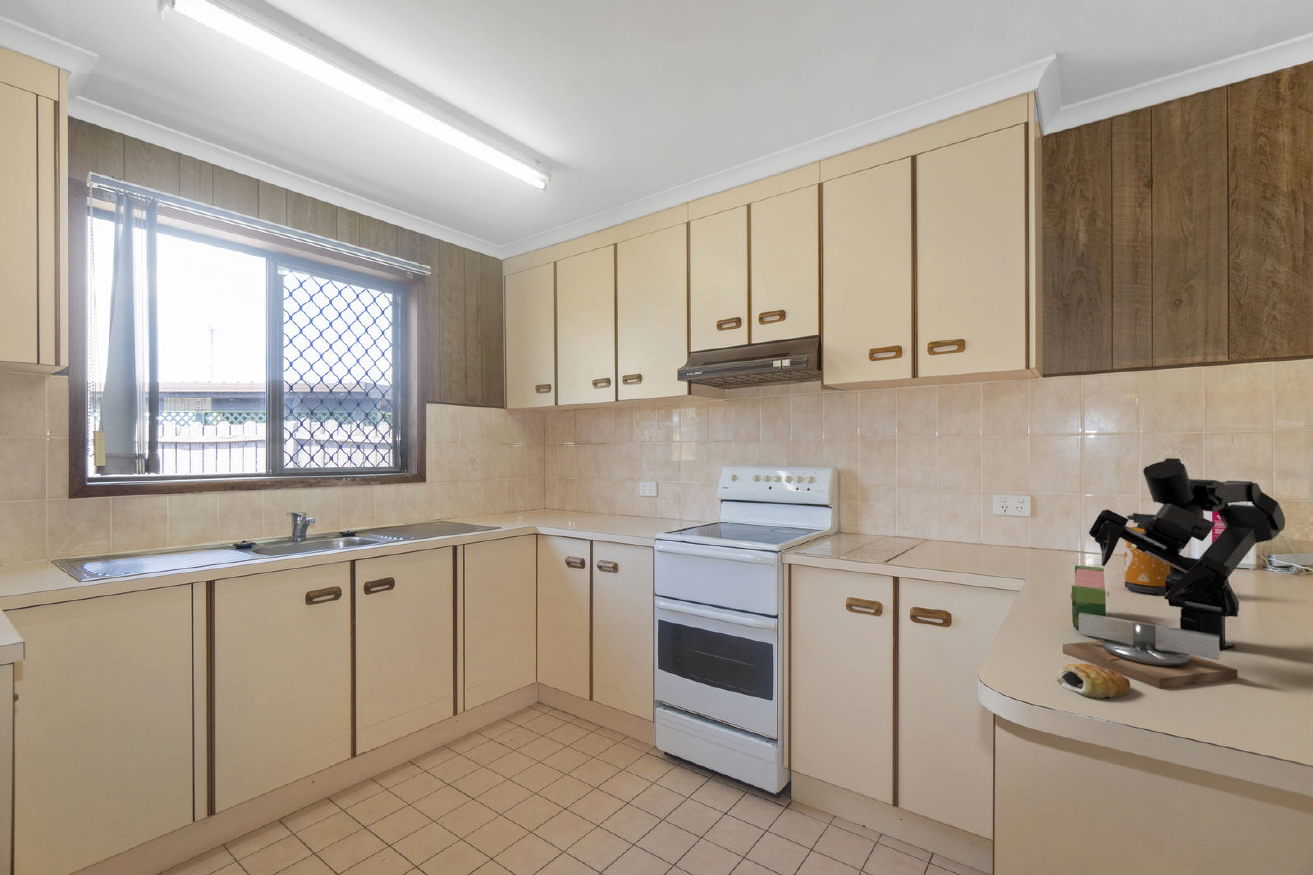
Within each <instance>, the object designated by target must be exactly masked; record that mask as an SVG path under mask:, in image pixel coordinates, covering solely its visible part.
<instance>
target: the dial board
mask: <svg viewBox="0 0 1313 875" xmlns="http://www.w3.org/2000/svg"><path fill="white" fill-rule="evenodd" d="M1104 640H1105V639H1104ZM1104 640H1095V641H1085V642H1083V641H1082V642H1074V643H1073V642H1072V643H1063V644H1062V654H1065V655H1067V656H1071V657H1074V658H1076V659H1079V660H1081V659H1082V660H1081V661H1084V660H1085V661H1084V662H1086V661H1087V662H1086V663H1088V664H1091V665H1095V664H1096V665H1095V666H1097V665H1098V667H1100V666H1101V667H1103V668H1107V669H1106V670H1108V669H1109V670H1113V671H1116V672H1117V673H1120V675H1122V676H1124V677H1126V678H1130V679H1133V680H1136V681H1138V682H1141V683H1143V682H1144V684H1146V685H1150V686H1152V687H1154V688H1157V689H1165V688H1173V687H1182V686H1191V685H1199V683H1200V684H1206V682H1209V683H1216V682H1224V681H1230V680H1231V681H1233V680H1238V678H1239V676H1238V670H1239V669H1237V668H1235V667H1231V666H1227V665H1224V664H1221V663H1218V662H1214V661H1211V660H1208V659H1206V658H1203V657H1199V656H1194V655H1189V664H1187V665H1184V666H1160V665H1152V664H1146V663H1141V662H1136V661H1132V660H1128V659H1124V658H1121V657H1118V656H1115V655H1113V654H1111V653H1109V652H1107V651H1106V650H1105V649H1104Z"/></svg>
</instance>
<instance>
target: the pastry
mask: <svg viewBox="0 0 1313 875" xmlns="http://www.w3.org/2000/svg"><path fill="white" fill-rule="evenodd" d="M1055 679H1056V681H1057V683H1058V684H1059V685H1060V687H1062V688H1064V689H1066V690H1067V691H1070V692H1071V691H1072V692H1073V693H1077V694H1078V695H1081V696H1083V697H1086V698H1091V699H1092V698H1093V699H1105V698H1107V697H1109V698H1110V699H1113V698H1117V697H1121V696H1125V695H1128V694H1129V692H1130V690H1131V682H1130V680H1129V678H1128V677H1127V676H1124V675H1122V674H1119V673H1117V672H1116V671H1113V670H1109V669H1105V668H1103V667H1100V666H1097V665H1093V664H1091V663H1078V664H1076V663H1075V664H1074V663H1069V664H1068V665H1063V667H1062V668H1061V669H1060V670H1059V672H1058V673H1057V674H1056V676H1055Z"/></svg>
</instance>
